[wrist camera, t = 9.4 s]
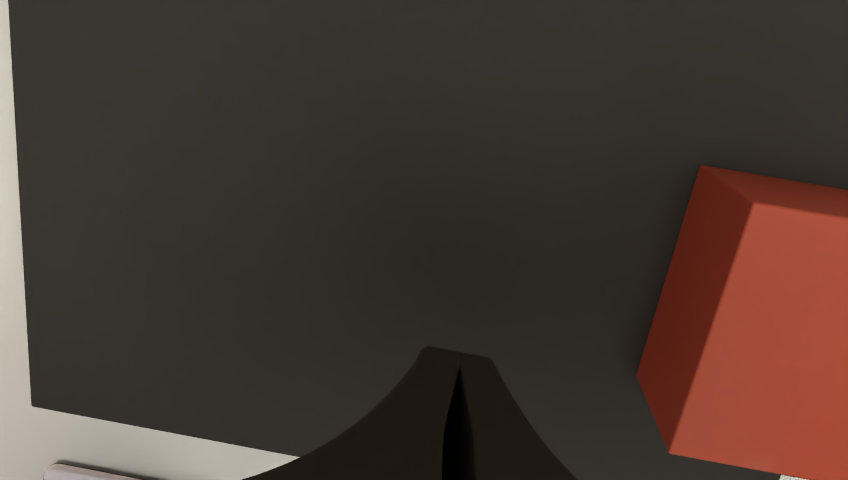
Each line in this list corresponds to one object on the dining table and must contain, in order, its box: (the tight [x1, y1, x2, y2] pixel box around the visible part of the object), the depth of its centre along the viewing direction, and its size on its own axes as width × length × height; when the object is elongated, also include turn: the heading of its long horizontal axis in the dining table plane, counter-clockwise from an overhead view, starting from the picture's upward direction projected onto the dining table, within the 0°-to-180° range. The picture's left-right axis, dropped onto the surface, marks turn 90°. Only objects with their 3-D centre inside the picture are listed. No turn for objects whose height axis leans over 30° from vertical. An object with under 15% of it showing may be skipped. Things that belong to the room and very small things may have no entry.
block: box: [636, 165, 848, 480], centre depth 18 cm, size 7×5×4 cm
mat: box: [8, 0, 848, 480], centre depth 20 cm, size 18×26×1 cm
